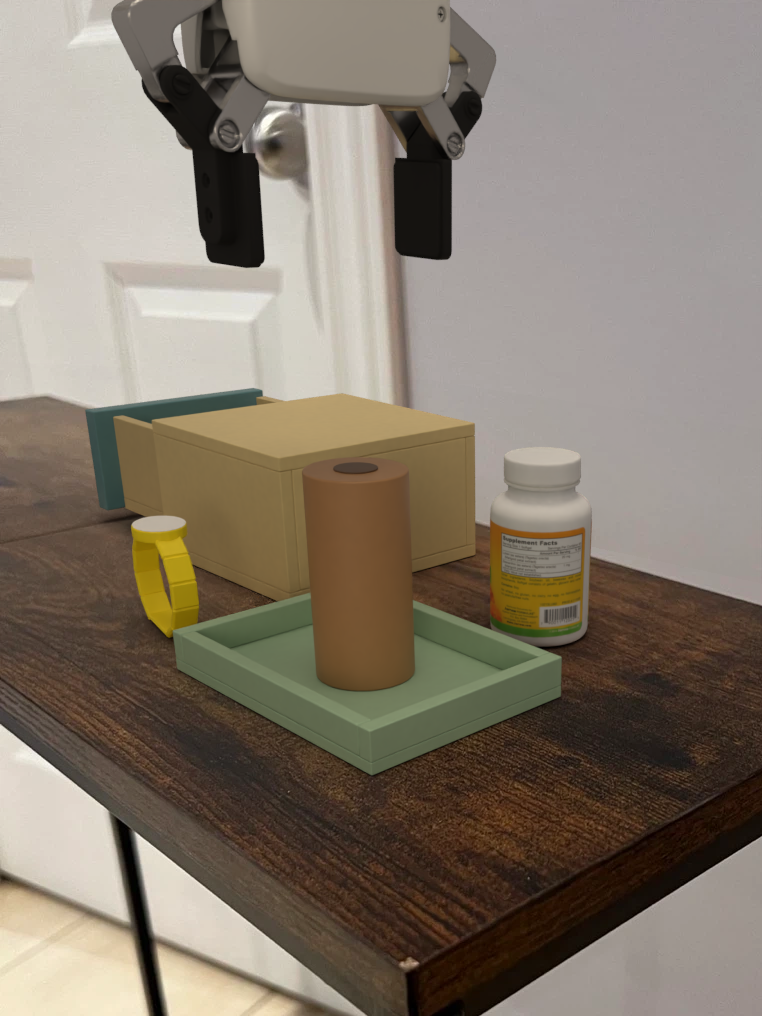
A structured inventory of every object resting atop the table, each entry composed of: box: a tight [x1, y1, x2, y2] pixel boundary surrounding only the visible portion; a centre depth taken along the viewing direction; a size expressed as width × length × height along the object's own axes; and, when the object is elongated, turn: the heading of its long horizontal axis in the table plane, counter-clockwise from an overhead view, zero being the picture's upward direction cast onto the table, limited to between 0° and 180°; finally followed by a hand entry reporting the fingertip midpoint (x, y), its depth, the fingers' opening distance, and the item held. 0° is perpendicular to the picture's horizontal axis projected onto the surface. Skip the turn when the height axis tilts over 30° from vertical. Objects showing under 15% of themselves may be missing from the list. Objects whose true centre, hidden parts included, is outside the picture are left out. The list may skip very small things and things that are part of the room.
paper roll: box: [302, 457, 415, 691], centre depth 54 cm, size 5×5×10 cm
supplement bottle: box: [489, 446, 593, 648], centre depth 61 cm, size 5×5×10 cm
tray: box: [172, 593, 563, 776], centre depth 56 cm, size 16×12×2 cm
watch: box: [130, 516, 200, 639], centre depth 61 cm, size 6×3×6 cm, turn 36°
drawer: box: [84, 387, 284, 518], centre depth 81 cm, size 17×13×7 cm
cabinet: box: [152, 392, 476, 602], centre depth 73 cm, size 14×15×9 cm
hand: (335, 260), depth 48 cm, fingers open, 9 cm apart
